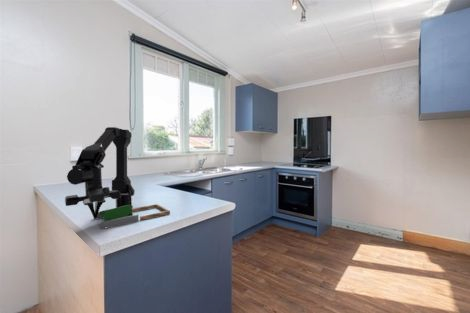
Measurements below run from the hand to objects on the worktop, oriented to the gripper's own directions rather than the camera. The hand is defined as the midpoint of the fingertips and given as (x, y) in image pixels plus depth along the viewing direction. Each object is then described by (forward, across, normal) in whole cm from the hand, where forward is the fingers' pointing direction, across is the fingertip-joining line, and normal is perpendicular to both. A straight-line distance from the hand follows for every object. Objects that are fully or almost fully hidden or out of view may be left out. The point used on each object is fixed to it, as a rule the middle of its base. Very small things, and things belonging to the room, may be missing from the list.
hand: (95, 218), depth 91 cm
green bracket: (+3, +8, 0) cm, 8 cm away
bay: (+2, +22, 0) cm, 22 cm away
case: (+2, +8, 0) cm, 8 cm away
